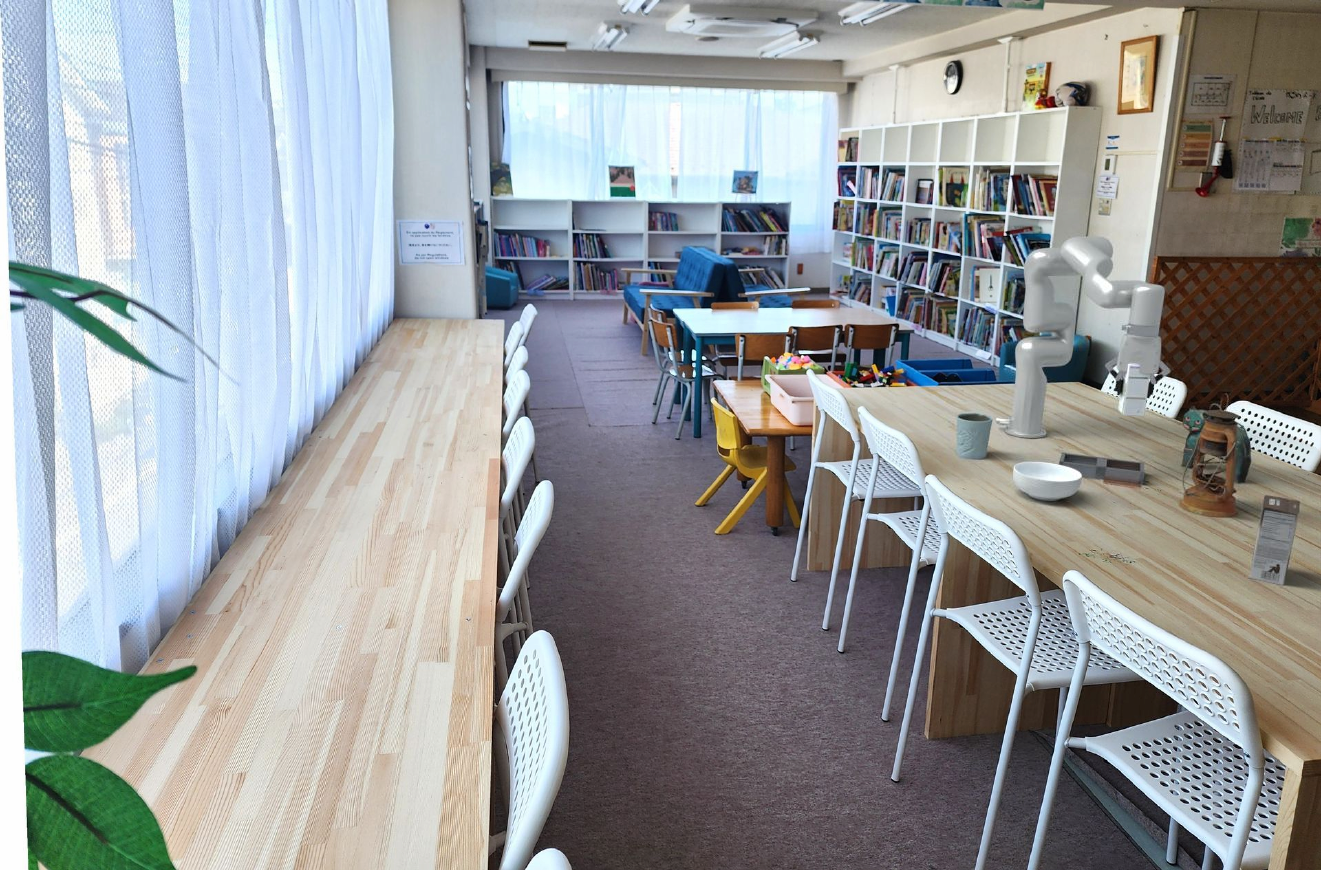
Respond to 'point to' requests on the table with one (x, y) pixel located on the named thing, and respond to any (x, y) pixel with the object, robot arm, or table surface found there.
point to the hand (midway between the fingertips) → (1133, 395)
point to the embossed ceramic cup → (973, 435)
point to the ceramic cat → (1195, 424)
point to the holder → (1106, 469)
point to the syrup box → (1133, 392)
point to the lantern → (1209, 489)
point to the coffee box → (1274, 539)
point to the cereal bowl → (1046, 480)
